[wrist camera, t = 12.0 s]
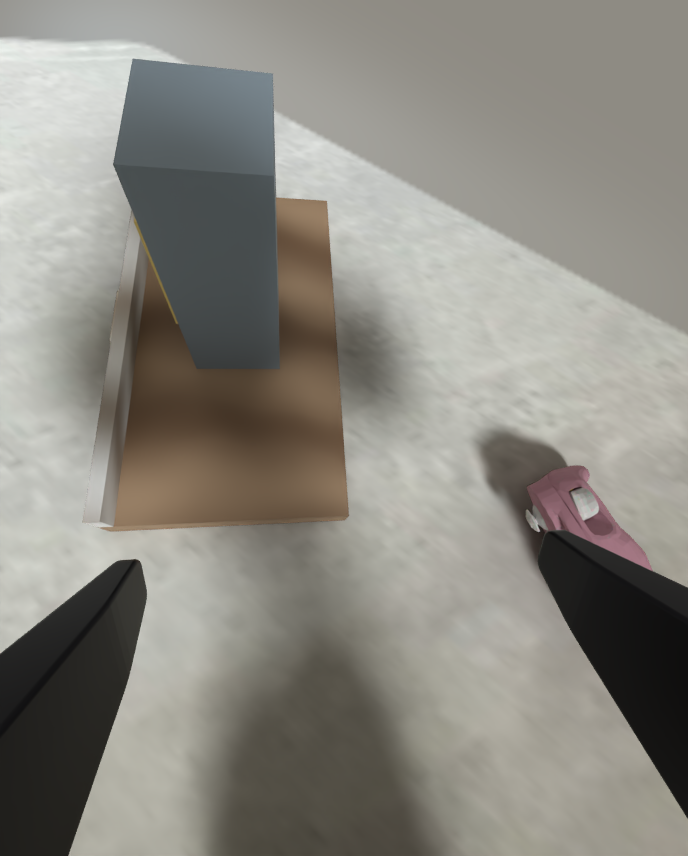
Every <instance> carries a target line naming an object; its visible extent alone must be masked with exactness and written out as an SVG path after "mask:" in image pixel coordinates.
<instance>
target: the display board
mask: <svg viewBox="0 0 688 856" xmlns="http://www.w3.org/2000/svg"><path fill="white" fill-rule="evenodd" d="M134 217H135V216H134V214H133V212H132V210H131V217H130V223H129V229H128V236H127V242H126V248H125V255H124V261H123V268H122V274H121V280H120V287H119V291H117V295H116V301H115V307H114V313H113V320H112V326H111V332H110V339H109V341H110V343H111V344H110V350H109V356H108V363H107V369H106V375H105V382H104V388H103V394H102V401H101V407H100V413H99V420H98V426H97V432H96V439H95V445H94V451H93V458H92V464H91V470H90V477H89V483H88V489H87V496H86V502H85V509H84V515H83V521H82V522H83V523H86V524H89V525H92V526H95V527H98V528H101V529H104V530H107V531H130V530H151V529H172V528H193V527H213V526H234V525H255V524H275V523H296V522H317V521H338V520H345V519H346V518H347V517H348V516H349V512H348V498H347V483H346V469H345V455H344V440H343V426H342V412H341V398H340V383H339V369H338V355H337V340H336V326H335V312H334V297H333V283H332V269H331V254H330V240H329V226H328V212H327V201H319V200H304V199H288V198H276V217H277V255H278V293H279V353H280V369H197V368H196V366H195V364H194V361H193V359H192V356H191V354H190V351H189V349H188V346H187V344H186V341H185V339H184V337H183V334H182V332H181V329H180V327H179V324H176V322H175V320H174V317H173V315H172V313H171V310H170V308H169V305H168V303H167V301H166V298H165V296H164V293H163V291H162V289H161V286H160V284H159V281H158V279H157V277H156V274H155V272H154V269H153V267H152V265H151V262H150V260H149V257H148V255H147V253H146V250H145V248H144V245H143V243H142V241H141V238H140V236H139V233H138V231H137V229H136V226H135V224H134Z"/></svg>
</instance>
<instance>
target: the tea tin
mask: <svg viewBox="0 0 688 856" xmlns="http://www.w3.org/2000/svg"><path fill="white" fill-rule="evenodd" d="M113 165H114V167H115V170H116V172H117V175H118V177H119V180H120V182H121V185H122V187H123V190H124V192H125V194H126V197H127V199H128V202H129V204H130V207H131V209H132V212H133V214H134V216H135V217H134V224H135V226H136V229H137V231H138V233H139V236H140V238H141V241H142V243H143V245H144V248H145V250H146V253H147V255H148V257H149V260H150V262H151V265H152V267H153V269H154V272H155V274H156V277H157V279H158V281H159V284H160V286H161V289H162V291H163V293H164V296H165V298H166V301H167V303H168V305H169V308H170V310H171V313H172V315H173V317H174V320H175V322H176V324H179V327H180V329H181V332H182V334H183V337H184V339H185V341H186V344H187V346H188V349H189V351H190V354H191V356H192V359H193V361H194V364H195V366H196V368H197V369H280V353H279V293H278V255H277V217H276V179H275V141H274V105H273V74H271V73H262V72H251V71H243V70H234V69H223V68H215V67H205V66H196V65H187V64H177V63H168V62H159V61H149V60H140V59H133V60H132V65H131V71H130V76H129V82H128V87H127V93H126V98H125V103H124V109H123V114H122V120H121V125H120V131H119V136H118V142H117V147H116V152H115V158H114V163H113Z"/></svg>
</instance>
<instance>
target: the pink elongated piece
mask: <svg viewBox="0 0 688 856" xmlns="http://www.w3.org/2000/svg"><path fill="white" fill-rule="evenodd" d="M589 476H590V474H589V472H588V469H586V468H585V467H584V466H569V467H564V468H560V469H556V470H552V471H551V472H549V473H548V474H547V475H545V476H544V477H543V478H541V479H540V480H539V481H537V482H535V483H533V484H531V485H529V486H527V490H528V493H529V496H530V499H531V501H532V503H533V508H532V509H533V515H532V514H531V513H530V512H529V510H528V509H527V510H526V519H527V521H528V523H529V525H530V526H531V528H533V529H534V530H536V531H537V532H540V530H539V527H538V525H539V526H541V527H542V528H543V530H544V532H545V533H546V532H547V531H550V530H566V531H569V532H571V533H573V534H575V535H577V536H579V537H581V538H584V539H586V540H588V541H590V542H592V543H594V544H596V545H598V546H600V547H603V548H605V549H607V550H609V551H611V552H613V553H615V554H617V555H620V556H622V557H624V558H626V559H628V560H630V561H632V562H634V563H636V564H639V565H641V566H643V567H645V568H647V569H649V570H651V571H653V570H652V568H651V566H650V563H649V561H648V559H647V556H646V554H645V552H644V551H643V550H642V548H641V547H640V546H639V545H638V544H637V543H636V542H635V541H634V540H633V539H632V537H631V536H630V535H628V534H627V533H626V532H625V531H624V530H623V529H621V528H620V526H619V525H618V524H617V523H616V522H615V520H614V519H613V517H612V516H611V514H610V513H609V511H608V510H607V508H606V507H605V505H604V504H603V502H602V501H601V500H600V498H599V497H598V496H597V495H596V493H595V492H594V491H593V490H592V488H591V487H590V486H589V485H588V483H587V481H588V479H589Z"/></svg>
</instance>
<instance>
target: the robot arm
mask: <svg viewBox="0 0 688 856" xmlns="http://www.w3.org/2000/svg"><path fill="white" fill-rule="evenodd" d="M538 565H539V569H540V571H541V573H542V575H543V577H544V579H545V581H546V583H547V585H548V587H549V589H550V591H551V593H552V595H553V597H554V599H555V601H556V603H557V605H558V607H559V609H560V611H561V613H562V615H563V617H564V619H565V621H566V622H567V624H568V626H569V628H570V630H571V632H572V633H573V635H574V637H575V638H576V640H577V642H578V643H579V645H580V646H581V648H582V650H583V651H584V653H585V654H586V656H587V658H588V659H589V661H590V663H591V664H592V666H593V667H594V669H595V671H596V672H597V674H598V675H599V677H600V679H601V680H602V682H603V683H604V685H605V687H606V688H607V690H608V691H609V693H610V695H611V696H612V698H613V699H614V701H615V703H616V704H617V706H618V708H619V709H620V711H621V712H622V714H623V716H624V717H625V719H626V720H627V722H628V724H629V725H630V727H631V728H632V730H633V732H634V733H635V735H636V736H637V738H638V740H639V741H640V743H641V744H642V746H643V748H644V749H645V751H646V753H647V754H648V756H649V757H650V759H651V761H652V762H653V764H654V765H655V767H656V769H657V770H658V772H659V773H660V775H661V777H662V778H663V780H664V781H665V783H666V785H667V786H668V788H669V789H670V791H671V793H672V794H673V796H674V797H675V799H676V801H677V802H678V804H679V806H680V807H681V809H682V810H683V812H684V814H685V815H686V817H687V818H688V588H687V587H685V586H683V585H681V584H679V583H677V582H675V581H672V580H670V579H668V578H666V577H664V576H662V575H660V574H658V573H655V572H653V571H651V570H649V569H647V568H645V567H643V566H641V565H639V564H636V563H634V562H632V561H630V560H628V559H626V558H624V557H622V556H620V555H617V554H615V553H613V552H611V551H609V550H607V549H605V548H603V547H600V546H598V545H596V544H594V543H592V542H590V541H588V540H586V539H584V538H581V537H579V536H577V535H575V534H573V533H571V532H569V531H566V530H550V531H547V532H546V533H545V535H544V538H543V541H542V545H541V549H540V552H539V556H538ZM146 599H147V589H146V584H145V579H144V575H143V570H142V565H141V563H140V561H139V560H137V559H133V560H120V561H117V562H115V563H114V564H112V565H111V566H110V567H108V568H107V569H106V570H105V571H103V572H102V573H101V574H100V575H98V576H97V577H96V578H95V579H93V580H92V581H91V582H90V583H88V584H87V585H86V586H85V587H83V588H82V589H81V590H80V591H78V592H77V593H76V594H75V595H73V596H72V597H71V598H70V599H68V600H67V601H66V602H65V603H63V604H62V605H61V606H59V607H58V608H57V609H56V610H54V611H53V612H52V613H51V614H49V615H48V616H47V617H46V618H44V619H43V620H42V621H41V622H39V623H38V624H37V625H36V626H34V627H33V628H32V629H31V630H29V631H28V632H27V633H26V634H24V635H23V636H22V637H21V638H19V639H18V640H17V641H15V642H14V643H13V644H12V645H10V646H9V647H8V648H7V649H5V650H4V651H3V652H2V653H0V856H68V855H69V852H70V849H71V846H72V843H73V840H74V837H75V835H76V832H77V829H78V826H79V823H80V820H81V817H82V814H83V811H84V808H85V805H86V802H87V799H88V797H89V794H90V791H91V788H92V785H93V782H94V779H95V776H96V773H97V770H98V767H99V764H100V761H101V759H102V756H103V753H104V750H105V747H106V744H107V741H108V738H109V735H110V732H111V729H112V726H113V723H114V720H115V718H116V715H117V712H118V709H119V706H120V703H121V700H122V697H123V694H124V691H125V688H126V685H127V682H128V678H129V675H130V671H131V667H132V662H133V658H134V654H135V649H136V645H137V640H138V636H139V631H140V627H141V623H142V618H143V614H144V609H145V605H146Z"/></svg>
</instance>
